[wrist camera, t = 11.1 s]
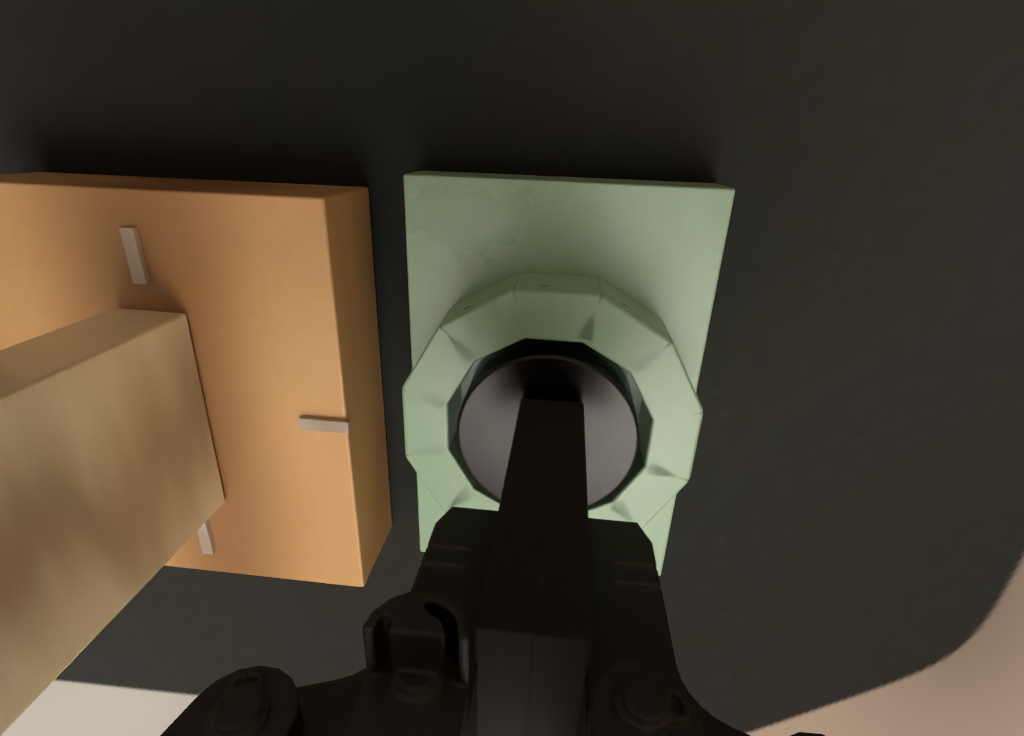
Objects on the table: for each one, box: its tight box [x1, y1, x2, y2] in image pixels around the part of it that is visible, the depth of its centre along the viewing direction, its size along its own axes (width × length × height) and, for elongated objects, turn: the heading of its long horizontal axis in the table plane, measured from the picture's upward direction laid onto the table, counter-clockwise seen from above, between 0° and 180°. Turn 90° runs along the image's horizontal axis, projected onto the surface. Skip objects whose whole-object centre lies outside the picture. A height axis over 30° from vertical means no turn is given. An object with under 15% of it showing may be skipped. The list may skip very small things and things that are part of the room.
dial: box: [0, 308, 225, 736], centre depth 11 cm, size 6×2×8 cm, turn 178°
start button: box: [457, 338, 640, 506], centre depth 14 cm, size 5×5×2 cm
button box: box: [402, 171, 735, 576], centre depth 15 cm, size 12×8×4 cm, turn 179°
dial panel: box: [0, 172, 392, 587], centre depth 16 cm, size 10×12×3 cm
